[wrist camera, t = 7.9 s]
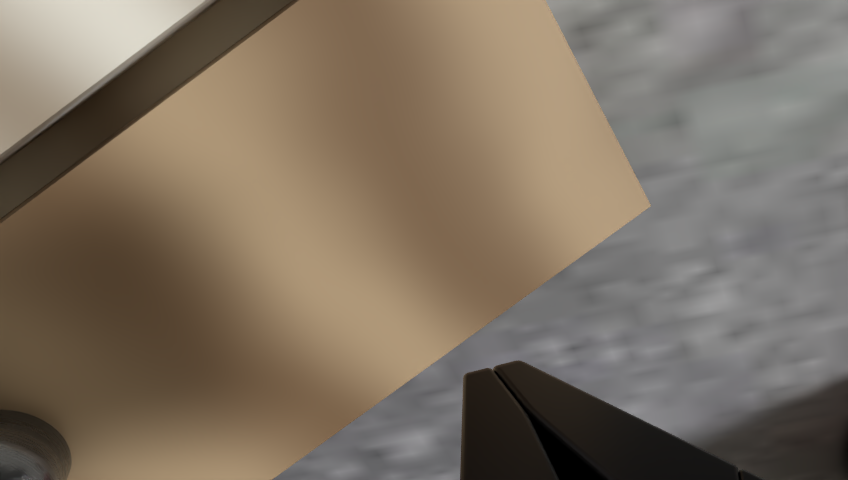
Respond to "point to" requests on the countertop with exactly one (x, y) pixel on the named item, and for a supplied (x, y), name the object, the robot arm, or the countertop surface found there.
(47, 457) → the latch bar
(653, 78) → the countertop surface
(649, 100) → the countertop surface
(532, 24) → the door and jamb
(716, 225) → the countertop surface
